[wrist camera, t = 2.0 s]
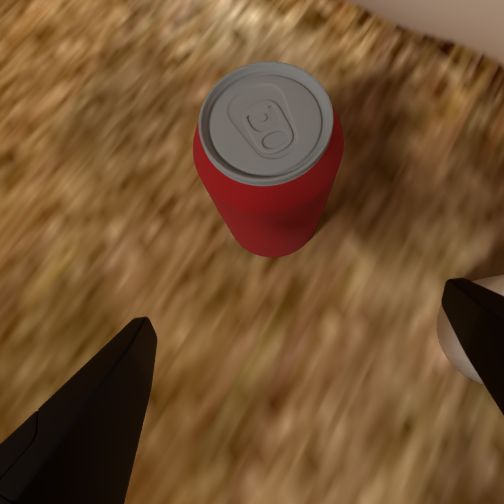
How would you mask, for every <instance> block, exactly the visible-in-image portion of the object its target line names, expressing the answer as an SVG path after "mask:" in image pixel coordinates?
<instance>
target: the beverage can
mask: <svg viewBox="0 0 504 504" xmlns="http://www.w3.org/2000/svg"><path fill="white" fill-rule="evenodd" d="M343 146H344V140H343V131H342V127H341V124H340V120H339V118H338V116H337V113H336V112H335V110H334V108H333V107H332V104H331V101H330V98H329V96H328V94H327V92H326V90H325V89H324V87H323V86H322V85H321V84H320V82H319V81H318V80H317V79H316V78H314V77H313V76H312V75H311V74H309V73H308V72H306V71H305V70H303V69H301V68H299V67H296V66H294V65H291V64H287V63H282V62H257V63H252V64H249V65H245V66H242V67H240V68H238V69H236V70H234V71H232V72H230V73H229V74H227V75H226V76H224V77H223V78H222V79H221V80H219V81H218V82H217V83H216V84H215V85H214V87H213V88H212V89H211V90H210V92H209V93H208V95H207V96H206V98H205V100H204V102H203V105H202V107H201V111H200V115H199V122H198V124H197V127H196V131H195V135H194V141H193V156H194V162H195V166H196V169H197V172H198V174H199V176H200V178H201V180H202V182H203V184H204V185H205V187H206V189H207V191H208V193H209V195H210V196H211V198H212V200H213V202H214V204H215V205H216V207H217V209H218V211H219V212H220V214H221V216H222V218H223V219H224V221H225V223H226V224H227V226H228V228H229V229H230V231H231V233H232V234H233V236H234V237H235V239H236V240H237V241H238V242H239V244H240V245H242V246H243V247H244V248H245V249H247V250H248V251H250V252H252V253H254V254H257V255H260V256H264V257H281V256H285V255H288V254H291V253H293V252H295V251H297V250H298V249H300V248H301V247H303V246H304V245H305V244H306V243H307V242H308V241H309V239H310V238H311V237H312V235H313V233H314V231H315V229H316V227H317V224H318V222H319V220H320V217H321V214H322V212H323V209H324V207H325V204H326V202H327V199H328V196H329V193H330V191H331V188H332V185H333V182H334V179H335V177H336V174H337V171H338V168H339V165H340V162H341V158H342V154H343Z"/></svg>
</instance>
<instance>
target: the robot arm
mask: <svg viewBox="0 0 504 504" xmlns="http://www.w3.org/2000/svg"><path fill="white" fill-rule="evenodd" d="M442 307H443V310H444V312H445V314H446V316H447V318H448V320H449V322H450V324H451V326H452V328H453V330H454V332H455V334H456V336H457V339H458V341H459V343H460V345H461V347H462V349H463V351H464V352H465V354H466V356H467V358H468V359H469V361H470V363H471V364H472V366H473V367H474V369H475V371H476V372H477V374H478V375H479V377H480V379H481V380H482V382H483V383H484V385H485V386H486V388H487V390H488V391H489V393H490V394H491V396H492V398H493V399H494V401H495V402H496V404H497V405H498V407H499V409H500V410H501V412H502V413H503V415H504V296H503V295H501V294H498V293H496V292H494V291H492V290H490V289H487V288H485V287H483V286H481V285H478V284H476V283H474V282H472V281H470V280H467V279H465V278H453V279H449V280H447V281H446V283H445V287H444V292H443V296H442ZM156 347H157V336H156V333H155V331H154V328H153V326H152V324H151V322H150V320H149V318H148V317H139V318H134V319H133V320H132V321H130V322H129V323H128V324H127V325H126V326H125V327H124V328H123V329H122V330H121V331H120V332H119V333H118V334H117V335H116V336H115V337H114V338H113V339H112V340H110V341H109V342H108V343H107V344H106V345H105V346H104V347H103V348H102V349H101V350H100V351H99V352H98V353H97V354H96V355H95V356H94V357H93V358H91V359H90V360H89V361H88V362H87V363H86V364H85V365H84V366H83V367H82V368H81V369H80V370H79V371H78V372H77V373H76V374H75V375H74V376H73V377H71V378H70V379H69V380H68V381H67V382H66V383H65V384H64V385H63V386H62V387H61V388H60V389H59V390H58V391H57V392H56V393H55V394H54V395H52V396H51V397H50V398H49V399H48V400H47V401H46V402H45V403H44V404H43V405H42V406H41V407H40V408H39V409H38V411H36V412H34V413H33V414H32V415H31V416H30V417H29V418H28V419H27V420H26V421H25V422H24V423H23V424H22V425H21V426H20V427H19V428H17V429H16V430H15V431H14V432H13V433H12V434H11V435H10V436H9V437H8V438H7V439H5V440H4V441H3V442H2V443H1V444H0V504H124V502H125V497H126V493H127V489H128V485H129V481H130V476H131V472H132V468H133V464H134V460H135V455H136V451H137V447H138V443H139V439H140V434H141V430H142V426H143V422H144V417H145V413H146V409H147V405H148V401H149V396H150V392H151V386H152V380H153V372H154V363H155V355H156Z"/></svg>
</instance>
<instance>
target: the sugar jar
mask: <svg viewBox="0 0 504 504" xmlns="http://www.w3.org/2000/svg"><path fill="white" fill-rule="evenodd" d="M472 282H474V283H476V284H478V285H481V286H483V287H485V288H487V289H490V290H492V291H494V292H496V293H498V294H501V295H503V296H504V274H503V275H498V276H493V277H488V278H483V279H479V280H474V281H472ZM437 333H438V338H439V342H440V345H441V347H442V350H443V351H444V353H445V355H446V357H447V358H448V360H449V361H450V362H451V363H452V365H453V366H454V367H455V368H456V369H457V370H458V371H460V372H461V373H462V374H463V375H465V376H466V377H468V378H469V379H471V380H473V381H475V382H477V383H479V384H482V385H484V383H483V382H482V380H481V379H480V377H479V375H478V374H477V372H476V371H475V369H474V367H473V366H472V364H471V363H470V361H469V359H468V358H467V356H466V354H465V352H464V351H463V349H462V347H461V345H460V343H459V341H458V339H457V336H456V334H455V332H454V330H453V328H452V326H451V324H450V322H449V320H448V318H447V316H446V314H445V312H444V310H443V307H442V305H441V307H440V309H439V313H438V318H437Z"/></svg>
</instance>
